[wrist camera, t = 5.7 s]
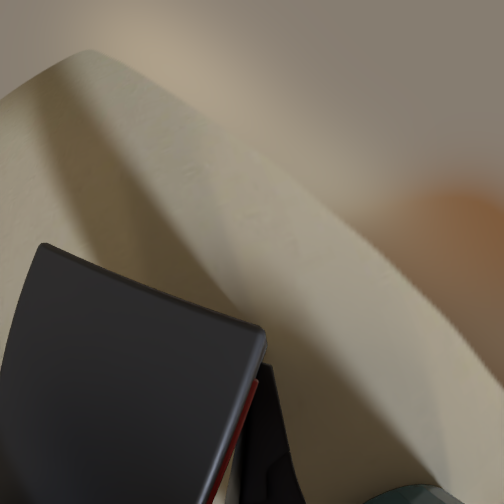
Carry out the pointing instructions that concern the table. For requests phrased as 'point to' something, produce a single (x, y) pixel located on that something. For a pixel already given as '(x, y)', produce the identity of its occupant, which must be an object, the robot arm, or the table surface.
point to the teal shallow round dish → (415, 496)
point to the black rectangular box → (119, 390)
